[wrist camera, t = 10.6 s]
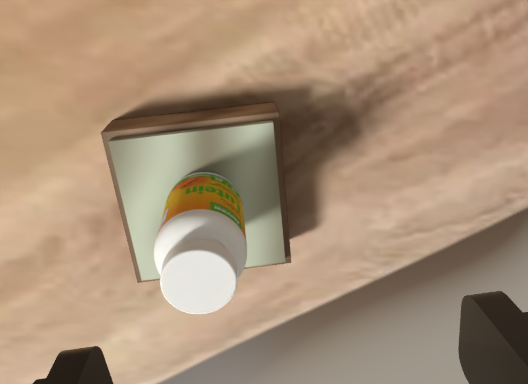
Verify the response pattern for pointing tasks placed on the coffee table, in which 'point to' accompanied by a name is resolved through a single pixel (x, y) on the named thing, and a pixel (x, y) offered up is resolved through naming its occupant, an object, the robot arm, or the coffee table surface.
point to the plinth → (200, 160)
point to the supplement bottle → (201, 243)
